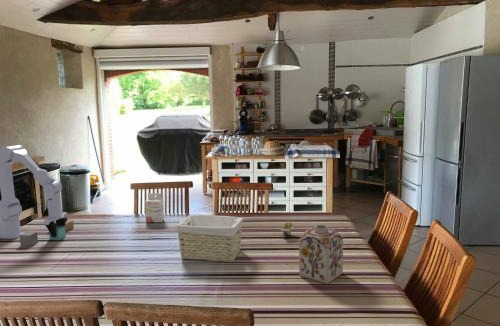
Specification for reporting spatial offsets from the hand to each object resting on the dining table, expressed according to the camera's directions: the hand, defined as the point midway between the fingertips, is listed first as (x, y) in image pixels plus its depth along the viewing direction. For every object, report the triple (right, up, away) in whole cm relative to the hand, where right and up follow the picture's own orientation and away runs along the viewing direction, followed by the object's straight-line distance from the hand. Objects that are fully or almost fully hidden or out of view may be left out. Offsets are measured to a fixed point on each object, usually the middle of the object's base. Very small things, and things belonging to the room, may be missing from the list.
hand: (57, 235), depth 194 cm
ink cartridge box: (+41, +3, +23) cm, 47 cm away
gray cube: (-9, -3, -7) cm, 12 cm away
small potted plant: (+108, 0, -4) cm, 108 cm away
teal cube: (0, -1, 0) cm, 1 cm away
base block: (-4, 0, +13) cm, 14 cm away
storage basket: (+75, -4, -25) cm, 79 cm away
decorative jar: (+116, -6, -47) cm, 125 cm away
